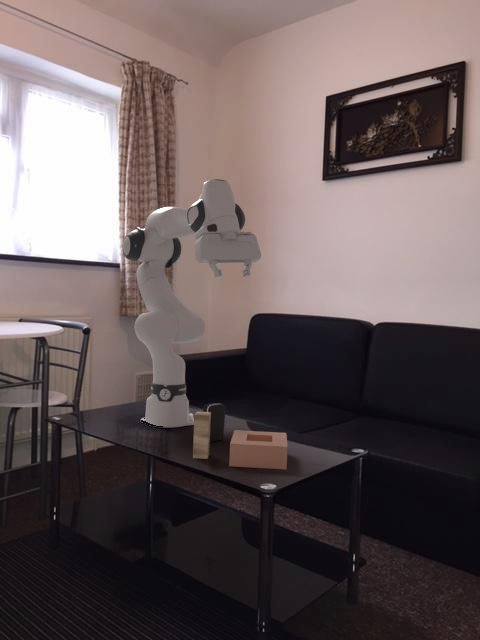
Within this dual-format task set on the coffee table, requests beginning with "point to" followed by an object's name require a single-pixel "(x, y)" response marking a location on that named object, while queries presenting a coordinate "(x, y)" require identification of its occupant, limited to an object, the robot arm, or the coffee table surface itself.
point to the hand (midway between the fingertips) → (233, 276)
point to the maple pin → (201, 435)
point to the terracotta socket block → (258, 449)
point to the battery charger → (216, 420)
